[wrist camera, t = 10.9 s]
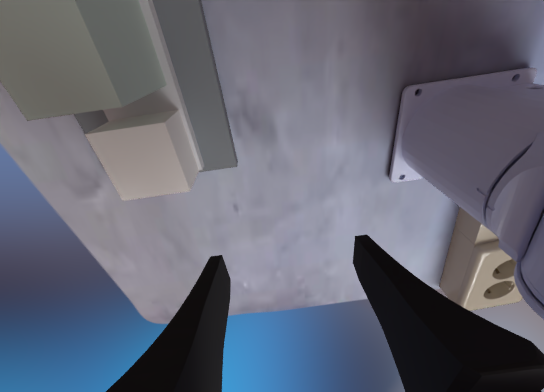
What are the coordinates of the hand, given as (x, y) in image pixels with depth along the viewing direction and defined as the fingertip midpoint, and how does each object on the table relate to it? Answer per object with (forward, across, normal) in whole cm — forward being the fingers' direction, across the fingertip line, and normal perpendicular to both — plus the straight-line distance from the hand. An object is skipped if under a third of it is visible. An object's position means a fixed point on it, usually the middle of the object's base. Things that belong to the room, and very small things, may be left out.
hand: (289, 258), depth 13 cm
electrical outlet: (+10, -22, +11) cm, 26 cm away
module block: (+8, +8, -11) cm, 16 cm away
